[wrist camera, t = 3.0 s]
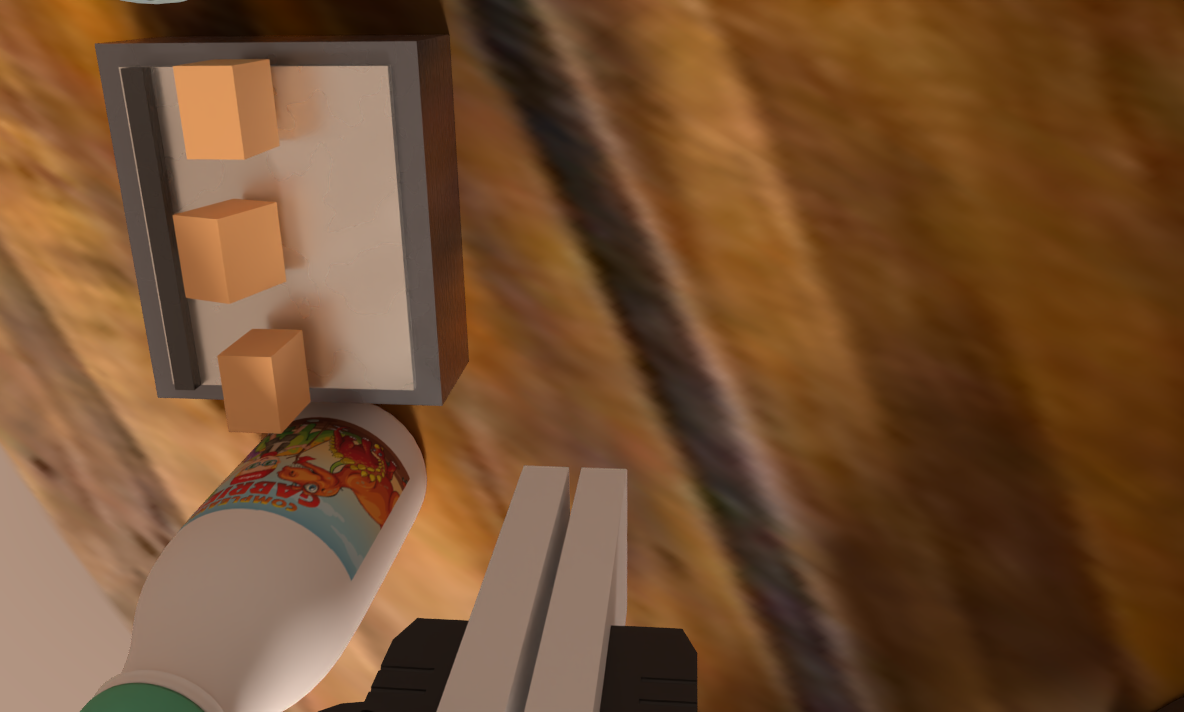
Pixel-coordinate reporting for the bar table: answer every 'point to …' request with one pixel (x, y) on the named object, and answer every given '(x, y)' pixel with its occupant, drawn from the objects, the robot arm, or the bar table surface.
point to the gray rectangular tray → (307, 211)
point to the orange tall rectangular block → (226, 108)
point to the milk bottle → (273, 568)
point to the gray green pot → (154, 1)
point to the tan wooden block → (264, 380)
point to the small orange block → (230, 250)
